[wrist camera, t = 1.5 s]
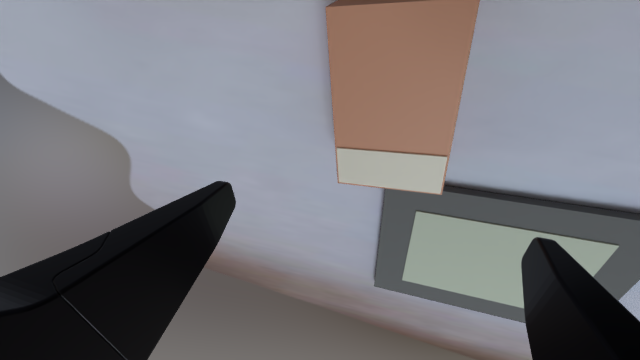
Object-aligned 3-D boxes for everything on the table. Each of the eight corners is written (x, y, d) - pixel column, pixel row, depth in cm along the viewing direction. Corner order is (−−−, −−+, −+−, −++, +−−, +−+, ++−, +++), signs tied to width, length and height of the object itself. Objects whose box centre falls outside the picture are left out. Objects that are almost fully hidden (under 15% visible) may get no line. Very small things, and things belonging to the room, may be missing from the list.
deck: (343, -3, 15) (324, 7, 13) (473, -12, 14) (480, -3, 11) (349, 155, 21) (337, 183, 18) (441, 163, 19) (442, 196, 17)
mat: (684, 220, 16) (692, 229, 16) (578, 329, 24) (581, 338, 23) (387, 177, 21) (385, 183, 20) (375, 280, 28) (374, 287, 27)
